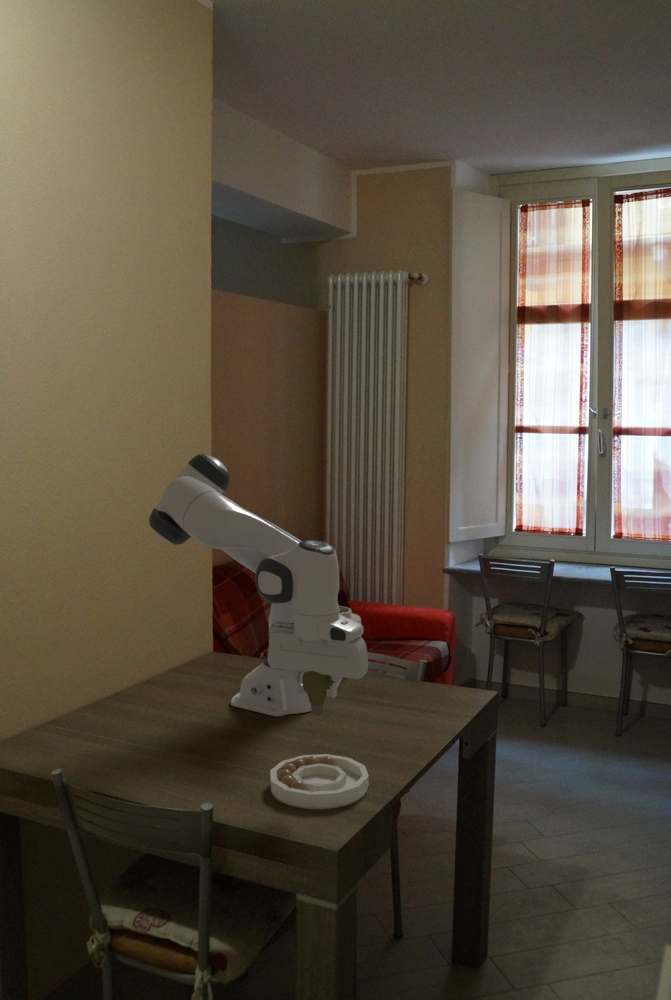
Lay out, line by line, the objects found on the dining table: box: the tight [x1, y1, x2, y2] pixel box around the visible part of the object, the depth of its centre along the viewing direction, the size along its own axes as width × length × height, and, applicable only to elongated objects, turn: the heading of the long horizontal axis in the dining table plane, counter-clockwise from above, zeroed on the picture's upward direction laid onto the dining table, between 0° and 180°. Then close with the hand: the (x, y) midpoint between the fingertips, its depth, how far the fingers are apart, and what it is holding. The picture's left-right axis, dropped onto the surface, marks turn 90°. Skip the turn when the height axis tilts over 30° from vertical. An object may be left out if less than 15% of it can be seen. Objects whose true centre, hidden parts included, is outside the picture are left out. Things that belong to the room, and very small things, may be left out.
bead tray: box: [269, 753, 370, 810], centre depth 185 cm, size 19×19×4 cm
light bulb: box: [302, 671, 332, 717], centre depth 183 cm, size 6×6×10 cm
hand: (317, 694), depth 183 cm, fingers closed on light bulb, 5 cm apart
